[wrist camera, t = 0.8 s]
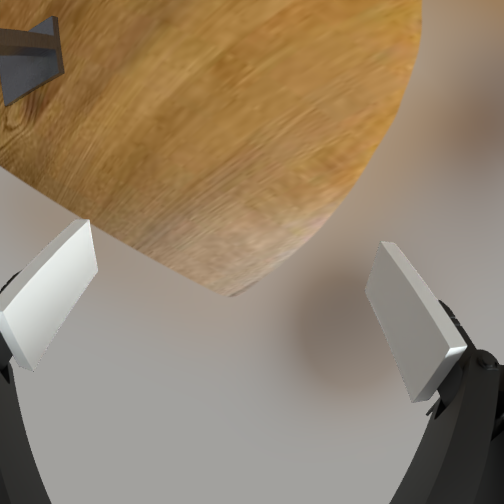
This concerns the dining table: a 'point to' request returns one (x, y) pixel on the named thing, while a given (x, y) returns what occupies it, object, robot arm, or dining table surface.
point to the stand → (29, 59)
